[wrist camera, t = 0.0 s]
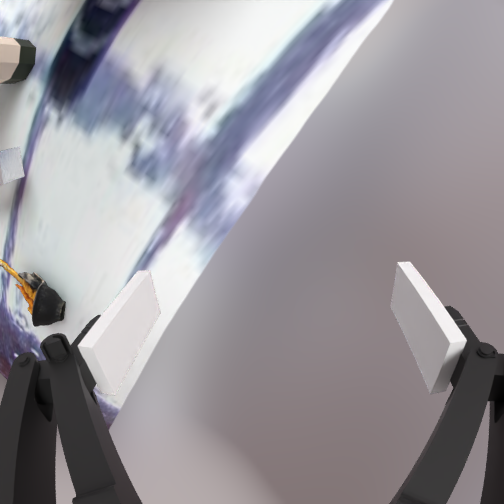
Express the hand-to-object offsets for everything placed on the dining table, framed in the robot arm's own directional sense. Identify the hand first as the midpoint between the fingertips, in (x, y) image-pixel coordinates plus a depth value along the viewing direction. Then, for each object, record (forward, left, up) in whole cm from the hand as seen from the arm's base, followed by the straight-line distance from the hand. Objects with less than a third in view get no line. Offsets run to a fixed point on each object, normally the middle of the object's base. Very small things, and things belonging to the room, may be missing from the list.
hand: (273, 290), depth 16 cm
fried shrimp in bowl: (+15, -48, -28) cm, 58 cm away
